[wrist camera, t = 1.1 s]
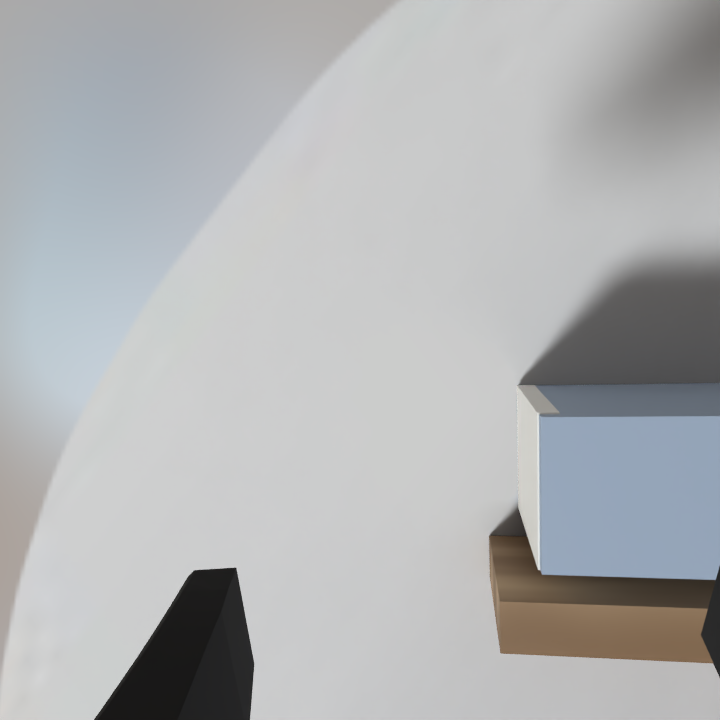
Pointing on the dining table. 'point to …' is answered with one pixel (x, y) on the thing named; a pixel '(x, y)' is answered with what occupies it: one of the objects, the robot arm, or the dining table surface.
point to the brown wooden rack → (594, 611)
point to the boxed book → (621, 479)
